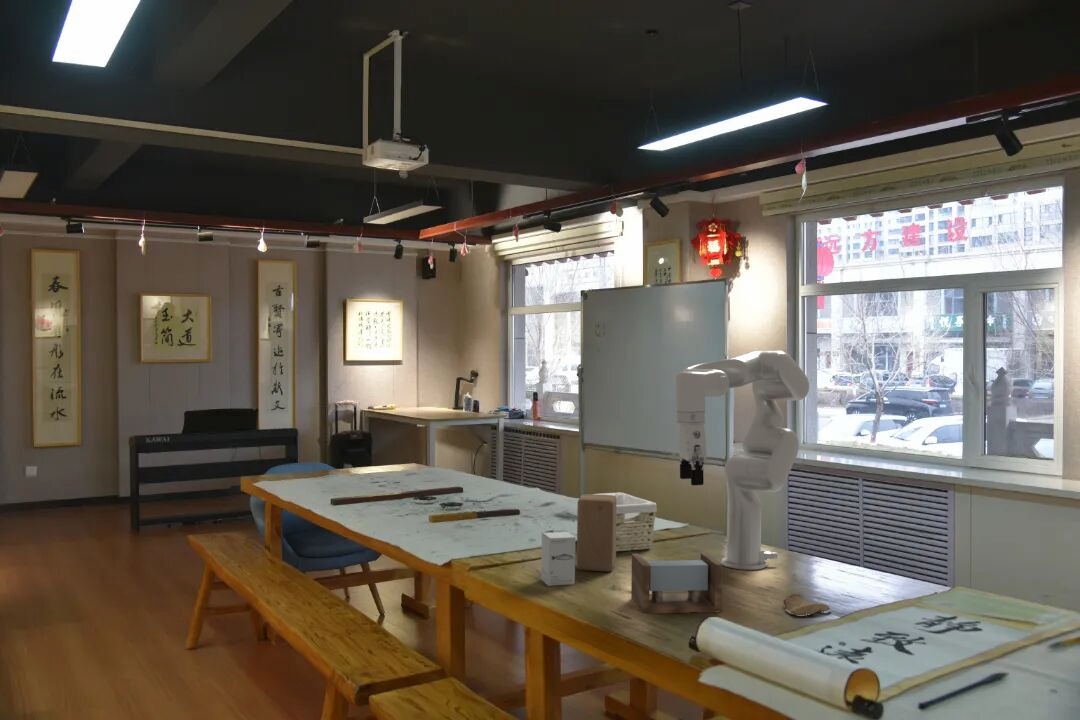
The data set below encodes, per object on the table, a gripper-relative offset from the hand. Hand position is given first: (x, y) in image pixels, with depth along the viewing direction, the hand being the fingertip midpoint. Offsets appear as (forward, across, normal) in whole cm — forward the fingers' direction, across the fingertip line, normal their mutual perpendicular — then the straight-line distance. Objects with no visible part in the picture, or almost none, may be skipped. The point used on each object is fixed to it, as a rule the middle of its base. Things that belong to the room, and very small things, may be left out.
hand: (691, 481), depth 231 cm
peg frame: (+26, -22, +11) cm, 36 cm away
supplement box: (+26, +2, +36) cm, 45 cm away
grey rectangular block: (+22, -22, +11) cm, 32 cm away
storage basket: (+28, +46, +10) cm, 55 cm away
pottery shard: (+27, -29, -18) cm, 43 cm away
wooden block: (+26, +16, +23) cm, 39 cm away
